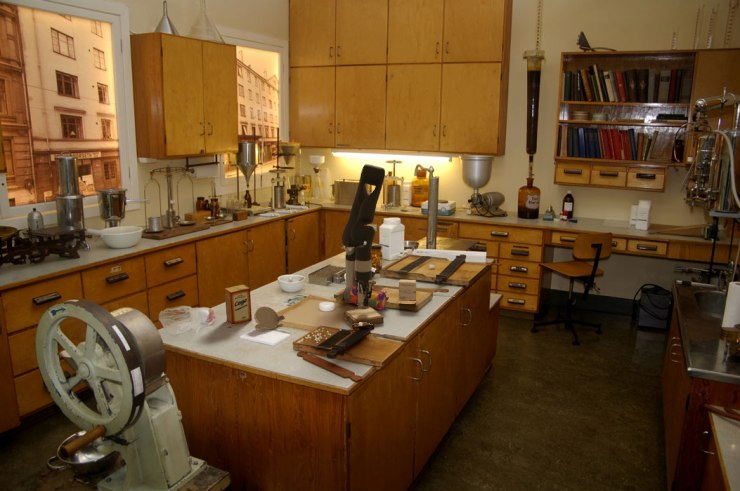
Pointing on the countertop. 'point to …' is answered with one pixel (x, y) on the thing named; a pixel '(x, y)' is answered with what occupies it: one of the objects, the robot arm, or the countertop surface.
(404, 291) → the ink box
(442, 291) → the countertop surface
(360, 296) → the weight
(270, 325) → the grey-brown rounded piece
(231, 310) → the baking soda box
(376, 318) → the tray
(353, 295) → the pencil case
